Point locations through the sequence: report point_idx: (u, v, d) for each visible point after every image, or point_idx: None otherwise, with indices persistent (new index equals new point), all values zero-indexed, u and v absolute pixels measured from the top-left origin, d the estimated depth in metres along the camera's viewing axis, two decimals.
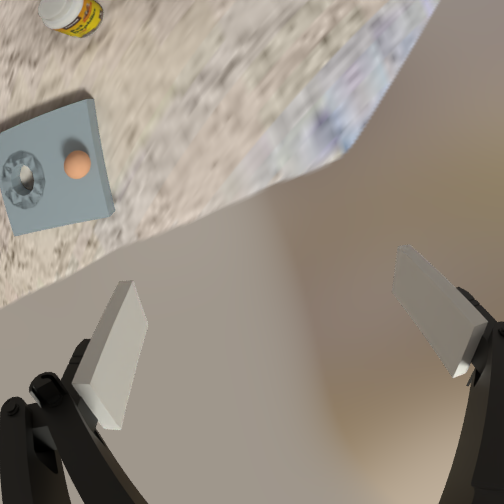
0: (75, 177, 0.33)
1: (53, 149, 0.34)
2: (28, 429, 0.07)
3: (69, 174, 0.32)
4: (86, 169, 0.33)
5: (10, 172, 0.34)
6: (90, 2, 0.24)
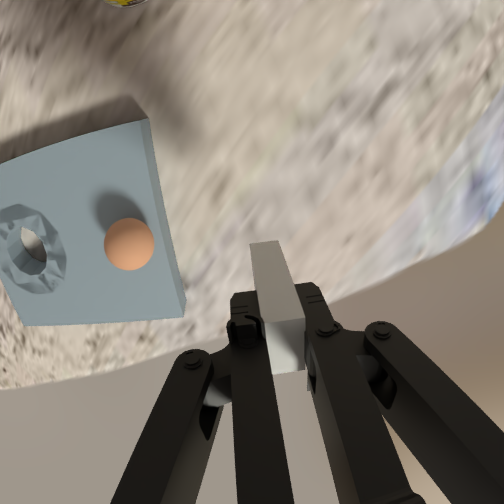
0: (129, 269, 0.20)
1: (78, 207, 0.21)
2: (203, 390, 0.09)
3: (118, 265, 0.20)
4: (149, 255, 0.20)
5: (5, 237, 0.21)
6: None
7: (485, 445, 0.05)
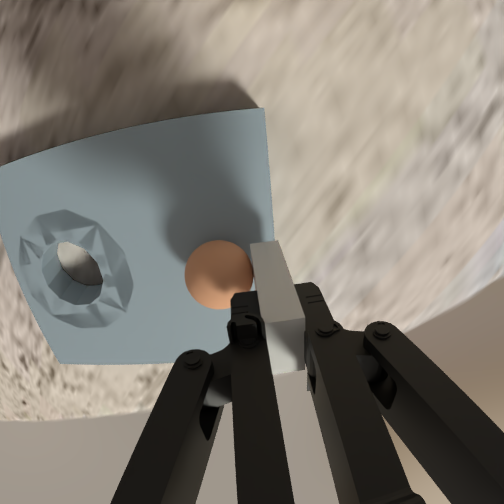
0: (210, 307, 0.16)
1: (159, 219, 0.17)
2: (203, 390, 0.09)
3: (195, 299, 0.16)
4: None
5: (39, 254, 0.17)
6: None
7: (485, 445, 0.05)
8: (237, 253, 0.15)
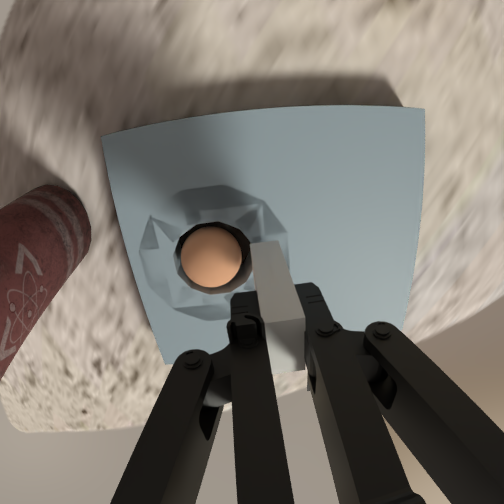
0: (207, 286, 0.18)
1: (331, 200, 0.17)
2: (203, 390, 0.09)
3: (194, 280, 0.18)
4: (233, 275, 0.18)
5: (173, 236, 0.17)
6: None
7: (485, 445, 0.05)
8: (229, 234, 0.18)
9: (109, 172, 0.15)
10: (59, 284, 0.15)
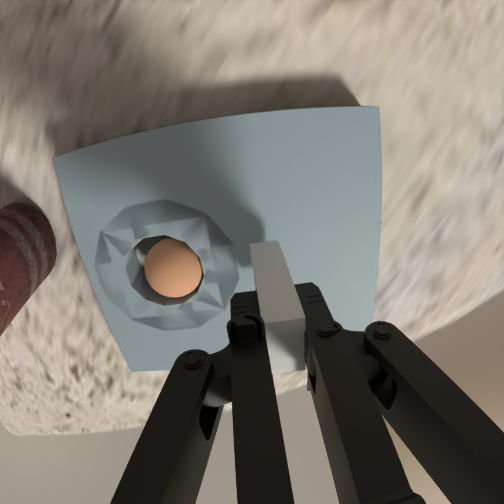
0: (177, 296, 0.18)
1: (276, 209, 0.17)
2: (203, 390, 0.09)
3: (165, 293, 0.18)
4: (200, 279, 0.19)
5: (124, 250, 0.17)
6: None
7: (485, 445, 0.05)
8: None
9: (62, 191, 0.15)
10: (23, 297, 0.15)
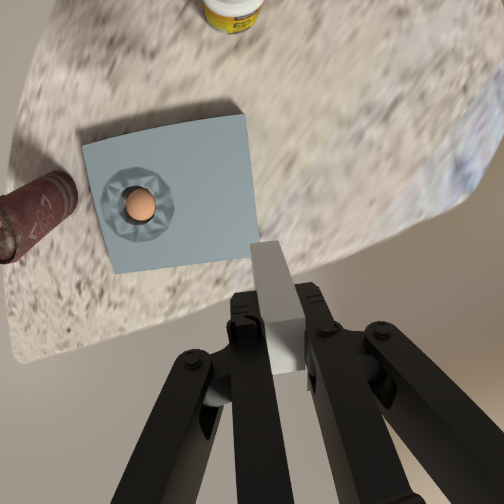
0: (141, 219, 0.33)
1: (192, 171, 0.32)
2: (203, 390, 0.09)
3: (135, 216, 0.33)
4: (154, 210, 0.34)
5: (116, 194, 0.32)
6: None
7: (485, 445, 0.05)
8: None
9: (86, 163, 0.30)
10: (59, 218, 0.30)
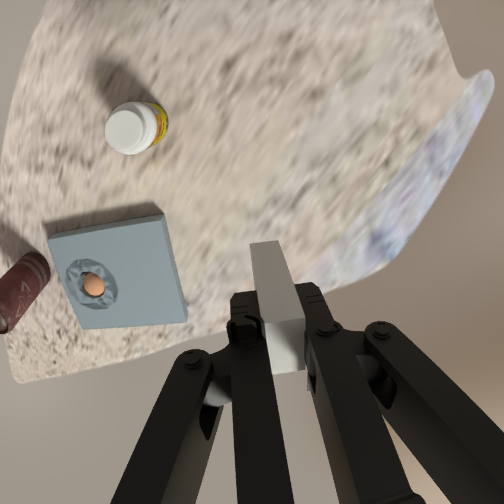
0: (95, 295, 0.42)
1: (126, 263, 0.40)
2: (203, 390, 0.09)
3: (90, 293, 0.41)
4: (104, 289, 0.42)
5: (75, 276, 0.41)
6: (160, 118, 0.30)
7: (485, 445, 0.05)
8: None
9: (51, 253, 0.39)
10: (37, 293, 0.38)
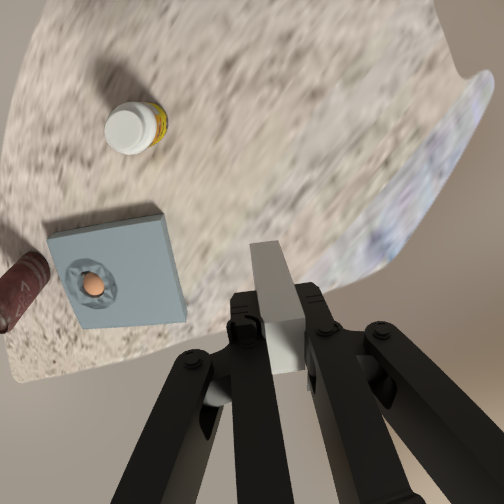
0: None
1: (126, 262, 0.40)
2: (203, 390, 0.09)
3: (89, 293, 0.41)
4: (103, 288, 0.42)
5: (75, 276, 0.41)
6: (160, 118, 0.30)
7: (485, 445, 0.05)
8: None
9: (51, 252, 0.39)
10: (36, 293, 0.38)
